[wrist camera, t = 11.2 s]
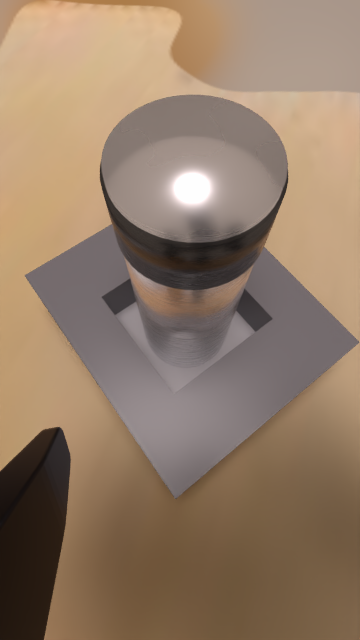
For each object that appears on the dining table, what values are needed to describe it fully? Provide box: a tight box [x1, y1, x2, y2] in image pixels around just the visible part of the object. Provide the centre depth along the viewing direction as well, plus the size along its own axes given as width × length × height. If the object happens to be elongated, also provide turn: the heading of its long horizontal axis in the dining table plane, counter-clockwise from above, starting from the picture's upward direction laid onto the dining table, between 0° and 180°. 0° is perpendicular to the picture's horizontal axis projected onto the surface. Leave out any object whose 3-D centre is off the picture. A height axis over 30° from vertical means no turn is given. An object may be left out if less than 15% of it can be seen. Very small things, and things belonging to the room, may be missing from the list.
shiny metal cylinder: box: [100, 95, 288, 368], centre depth 15 cm, size 5×5×13 cm
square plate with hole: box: [25, 224, 359, 499], centre depth 20 cm, size 14×12×4 cm
